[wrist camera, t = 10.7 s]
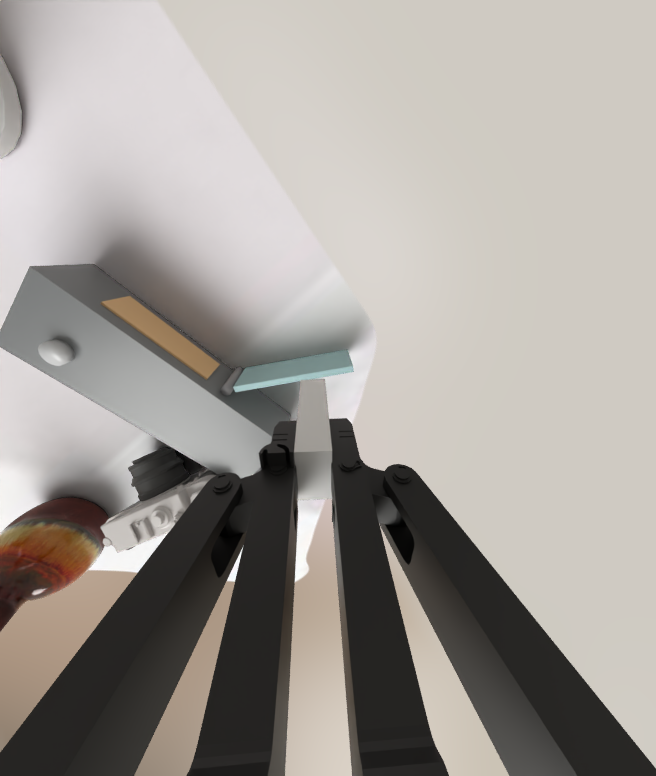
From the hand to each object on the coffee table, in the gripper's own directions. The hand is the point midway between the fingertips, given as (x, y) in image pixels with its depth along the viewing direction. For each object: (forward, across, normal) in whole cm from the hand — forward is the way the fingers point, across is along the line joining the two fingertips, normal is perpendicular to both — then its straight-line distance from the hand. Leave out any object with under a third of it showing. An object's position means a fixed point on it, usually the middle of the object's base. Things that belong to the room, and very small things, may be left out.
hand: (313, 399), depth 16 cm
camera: (+14, -18, -17) cm, 28 cm away
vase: (+14, -36, -26) cm, 46 cm away
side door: (+13, -2, -3) cm, 13 cm away
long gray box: (+13, -14, -4) cm, 20 cm away
